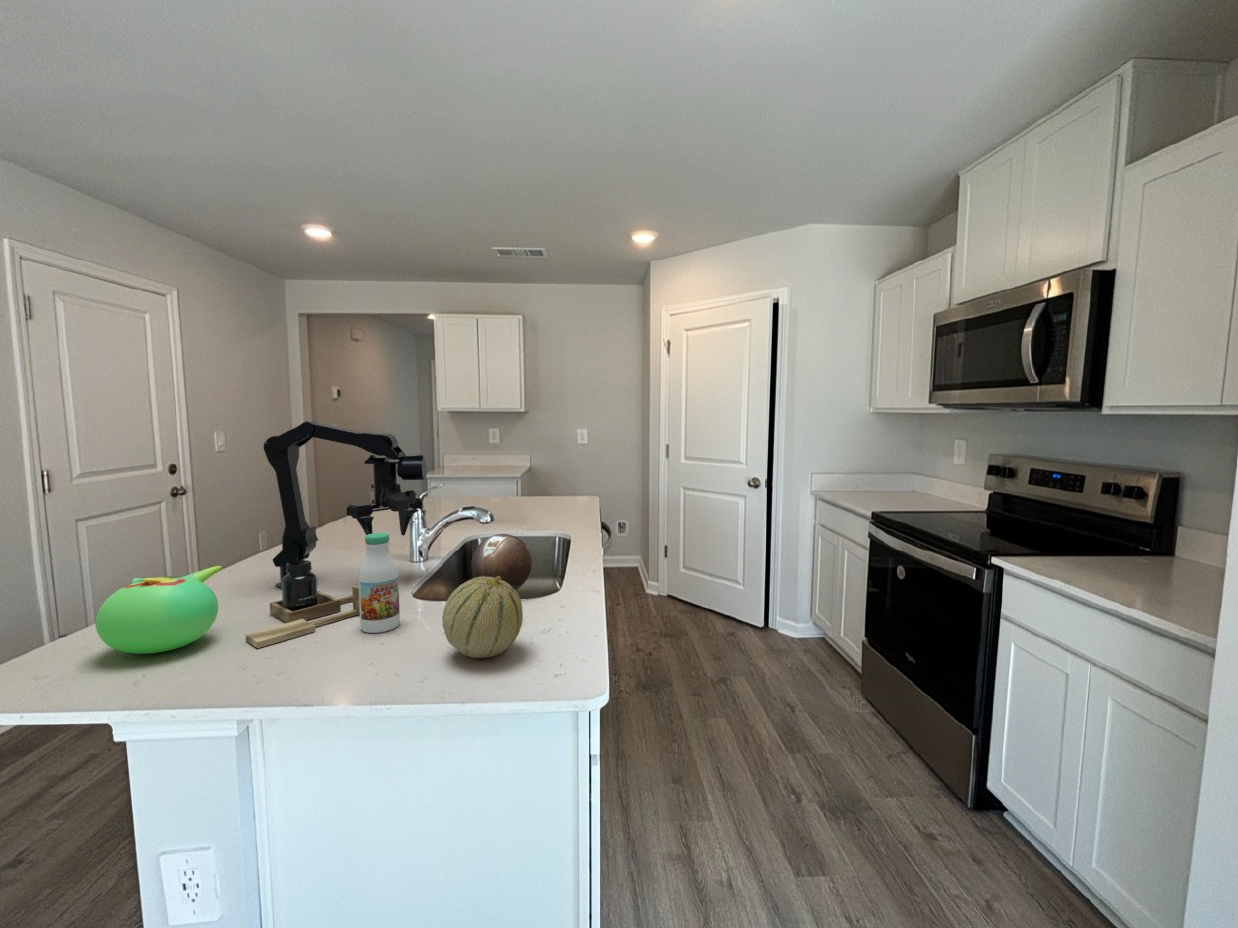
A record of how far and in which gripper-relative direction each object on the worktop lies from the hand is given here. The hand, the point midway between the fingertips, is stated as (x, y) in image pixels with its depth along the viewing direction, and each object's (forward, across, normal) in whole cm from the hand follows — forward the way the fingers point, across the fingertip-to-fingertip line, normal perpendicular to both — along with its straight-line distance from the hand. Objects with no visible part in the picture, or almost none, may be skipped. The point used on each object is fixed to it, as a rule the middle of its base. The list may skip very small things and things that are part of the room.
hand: (387, 538), depth 146 cm
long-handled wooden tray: (+12, -26, -17) cm, 33 cm away
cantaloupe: (+12, -13, -56) cm, 59 cm away
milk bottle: (+12, -18, -28) cm, 35 cm away
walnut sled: (+12, -17, -7) cm, 22 cm away
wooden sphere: (+12, +13, -31) cm, 36 cm away
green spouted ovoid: (+12, -49, -5) cm, 51 cm away
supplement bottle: (+12, -25, -7) cm, 29 cm away
